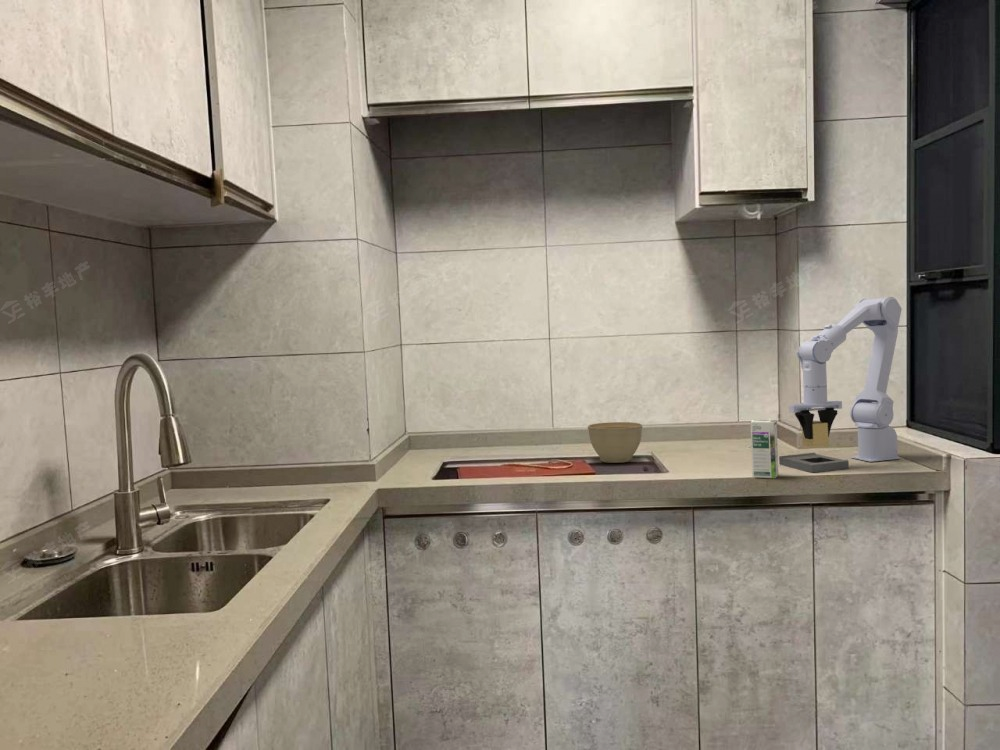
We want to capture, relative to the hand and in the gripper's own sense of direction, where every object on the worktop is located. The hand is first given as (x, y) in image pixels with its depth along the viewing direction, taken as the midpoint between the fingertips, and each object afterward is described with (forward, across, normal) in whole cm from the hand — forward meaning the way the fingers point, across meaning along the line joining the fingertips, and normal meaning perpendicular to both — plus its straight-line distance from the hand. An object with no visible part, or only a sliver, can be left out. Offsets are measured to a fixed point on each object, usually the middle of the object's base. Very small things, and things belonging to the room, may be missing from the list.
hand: (816, 437), depth 203 cm
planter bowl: (+8, +41, -39) cm, 57 cm away
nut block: (+2, 0, 0) cm, 2 cm away
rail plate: (+8, 0, -2) cm, 8 cm away
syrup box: (+8, +18, +3) cm, 20 cm away
